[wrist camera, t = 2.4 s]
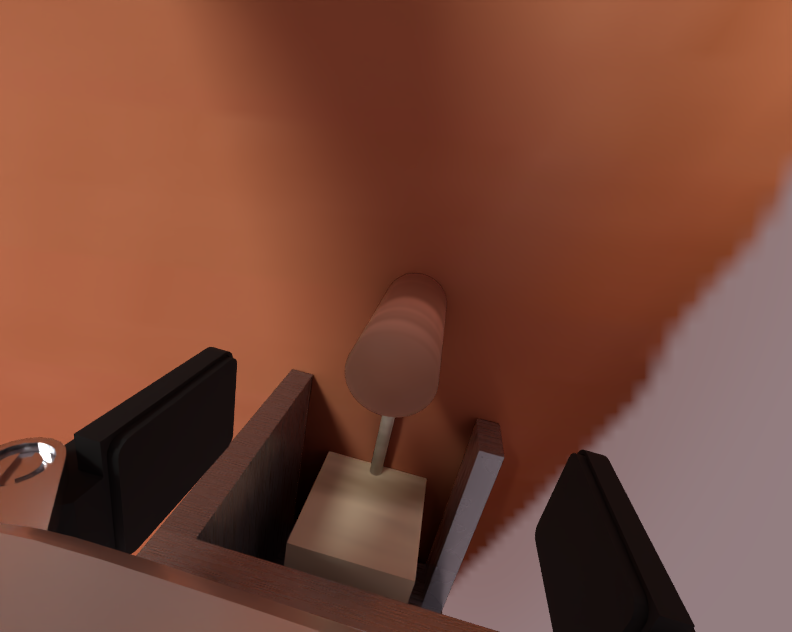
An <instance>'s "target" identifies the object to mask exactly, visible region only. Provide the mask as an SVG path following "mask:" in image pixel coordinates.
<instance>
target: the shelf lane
mask: <svg viewBox="0 0 792 632" xmlns="http://www.w3.org/2000/svg"><path fill="white" fill-rule="evenodd" d="M312 377H313V375H312V374H309V373H305V372H301V371H297V370H293V369H292V370H291V371H290V372H289V373H288V375H287V376H286V377H285V378H284V379H283V381H282V382H281V383H280V384H279V385H278V387H277V388H276V389H275V390H274V391H273V393H272V394H271V395H270V396H269V397H268V399H267V400H266V401H265V402H264V403H263V405H262V406H261V407H260V408H259V409H258V411H257V412H256V413H255V414H254V415H253V417H252V418H251V419H250V420H249V421H248V423H247V424H246V425H245V426H244V427H243V429H242V430H241V431H240V432H239V433H238V435H237V436H236V437H235V438H234V439H233V440H232V442H231V443H230V445H229V447H228V448H227V449H226V450H225V451H224V453H223V454H222V455H221V456H220V457H219V458H218V459H217V460H216V462H215V463H214V464H213V465H212V466H211V467H210V468H209V469H208V470H207V472H206V473H205V474H204V475H203V476H202V478H201V479H200V480H199V481H198V482H197V484H196V485H195V486H194V487H193V488H192V490H191V491H190V492H189V493H188V494H187V496H186V497H185V498H184V499H183V500H182V502H181V503H180V504H179V505H178V506H177V507H176V509H175V510H174V511H173V512H172V513H171V515H170V516H169V517H168V518H167V519H166V521H165V522H164V523H163V524H162V525H161V527H160V528H159V529H158V530H157V531H156V533H155V534H154V535H153V536H152V537H151V539H150V540H149V541H148V542H147V543H146V545H145V546H144V547H143V548H142V549H141V551H140V552H139V553H138V554H137V555H136V556H138V557H141V558H144V559H147V560H150V561H153V562H157V563H160V564H163V565H166V566H169V567H172V568H175V569H178V570H181V571H184V572H187V573H190V574H193V575H196V576H199V577H202V578H205V579H208V580H211V581H214V582H217V583H220V584H223V585H227V586H230V587H233V588H236V589H239V590H242V591H245V592H248V593H251V594H254V595H257V596H260V597H263V598H266V599H269V600H272V601H275V602H278V603H281V604H284V605H287V606H290V607H293V608H296V609H299V610H302V611H305V612H308V613H311V614H314V615H317V616H320V617H323V618H326V619H329V620H332V621H335V622H338V623H341V624H344V625H347V626H350V627H352V628H355V629H358V630H361V631H364V632H498V631H495V630H492V629H488V628H485V627H482V626H479V625H475V624H472V623H469V622H466V621H462V620H459V619H456V618H453V617H449V616H446V615H443V614H442V609H443V607H444V604H445V602H446V599H447V597H448V595H449V592H450V590H451V587H452V585H453V582H454V580H455V577H456V575H457V572H458V570H459V568H460V565H461V563H462V560H463V558H464V555H465V553H466V550H467V548H468V545H469V543H470V541H471V538H472V536H473V533H474V531H475V528H476V526H477V523H478V521H479V518H480V516H481V514H482V511H483V509H484V506H485V504H486V501H487V499H488V496H489V494H490V492H491V489H492V487H493V484H494V482H495V479H496V477H497V474H498V472H499V469H500V467H501V465H502V462H503V460H504V452H503V445H502V438H501V431H500V425H499V424H497V423H493V422H489V421H485V420H482V419H478V418H477V420H476V423H475V426H474V429H473V432H472V434H471V437H470V440H469V443H468V446H467V449H466V452H465V454H464V457H463V460H462V463H461V466H460V469H459V471H458V474H457V477H456V480H455V483H454V486H453V488H452V491H451V494H450V497H449V500H448V503H447V506H446V508H445V511H444V514H443V517H442V520H441V523H440V525H439V528H438V531H437V534H436V537H435V540H434V542H433V545H432V548H431V551H430V554H429V557H428V560H427V562H426V563H422V562H419V561H417V569H416V578H415V583H414V586H413V589H412V592H411V595H410V598H409V601H408V604H407V603H403V602H400V601H397V600H394V599H390V598H387V597H384V596H381V595H377V594H374V593H371V592H367V591H364V590H361V589H358V588H354V587H351V586H348V585H345V584H341V583H338V582H335V581H331V580H328V579H325V578H322V577H318V576H315V575H312V574H308V573H305V572H302V571H299V570H295V569H292V568H289V567H286V566H284V560H285V552H286V544H287V541H288V539H289V537H290V535H291V532H292V530H293V528H294V526H295V525H294V524H293V521H294V514H295V506H296V498H297V491H298V483H299V476H300V468H301V460H302V453H303V445H304V438H305V430H306V423H307V415H308V407H309V400H310V392H311V385H312Z"/></svg>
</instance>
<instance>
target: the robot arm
mask: <svg viewBox="0 0 792 632" xmlns="http://www.w3.org/2000/svg"><path fill="white" fill-rule="evenodd" d="M236 373H237V361H236V359H234V358H233V356H232V353H230V352H228V351H225V350H221V349H217V348H214V347H209V348H206V349H205V350H203V351H202V352H200V353H199V354H197V355H196V356H194V357H192V358H191V359H189V360H188V361H186V362H185V363H183V364H182V365H180V366H179V367H177V368H175V369H174V370H172V371H171V372H169V373H168V374H166V375H165V376H163V377H161V378H160V379H158V380H157V381H155V382H154V383H152V384H151V385H149V386H148V387H146V388H144V389H143V390H141V391H140V392H138V393H137V394H135V395H134V396H132V397H130V398H129V399H127V400H126V401H124V402H123V403H121V404H120V405H118V406H117V407H115V408H113V409H112V410H110V411H109V412H107V413H106V414H104V415H103V416H101V417H99V418H98V419H96V420H95V421H93V422H92V423H90V424H89V425H87V426H86V427H84V428H82V429H81V430H79V431H78V432H76V433H75V434H74V439H73V440H72V441H70V442H69V443H67V444H66V445H63V444H62V443H61V442H60V441H57V440H55V439H52V438H43V437H37V438H25V439H21V440H16V441H11V442H8V443H6V444H3V445H0V632H364V631H361V630H358V629H355V628H352V627H350V626H347V625H344V624H341V623H338V622H335V621H332V620H329V619H326V618H323V617H320V616H317V615H314V614H311V613H308V612H305V611H302V610H299V609H296V608H293V607H290V606H287V605H284V604H281V603H278V602H275V601H272V600H269V599H266V598H263V597H260V596H257V595H254V594H251V593H248V592H245V591H242V590H239V589H236V588H233V587H230V586H227V585H223V584H220V583H217V582H214V581H211V580H208V579H205V578H202V577H199V576H196V575H193V574H190V573H187V572H184V571H181V570H178V569H175V568H172V567H169V566H166V565H163V564H160V563H157V562H153V561H150V560H147V559H144V558H141V557H138V556H134V555H131V554H132V553H133V552H135V551H136V550H137V549H138V548H139V547H140V546H141V545H142V543H143V542H144V541H145V540H146V539H147V538H148V537H149V536H150V534H151V533H152V532H153V531H154V530H155V529H156V528H157V527H158V525H159V524H160V523H161V522H162V521H163V520H164V519H165V518H166V516H167V515H168V514H169V513H170V512H171V511H172V510H173V509H174V508H175V506H176V505H177V504H178V503H179V502H180V501H181V500H182V499H183V497H184V496H185V495H186V494H187V493H188V492H189V491H190V490H191V488H192V487H193V486H194V485H195V484H196V483H197V482H198V481H199V479H200V478H201V477H202V476H203V475H204V474H205V473H206V472H207V470H208V469H209V468H210V467H211V466H212V465H213V464H214V463H215V462H216V460H217V459H218V458H219V457H220V456H221V455H222V454H223V453H224V451H225V450H226V449H227V448H228V447H229V445H230V443H231V441H232V437H233V425H234V408H235V391H236ZM535 541H536V547H537V552H538V557H539V562H540V567H541V572H542V577H543V582H544V587H545V593H546V598H547V603H548V608H549V613H550V618H551V623H552V628H553V632H695V630H694V624H693V622H692V620H691V618H690V616H689V614H688V612H687V610H686V608H685V606H684V605H683V603H682V601H681V599H680V597H679V595H678V593H677V591H676V589H675V587H674V585H673V583H672V581H671V579H670V577H669V575H668V574H667V572H666V570H665V568H664V566H663V564H662V562H661V560H660V558H659V556H658V554H657V552H656V551H655V548H654V546H653V544H652V543H651V541H650V539H649V537H648V535H647V533H646V531H645V529H644V527H643V525H642V523H641V521H640V520H639V517H638V515H637V514H636V512H635V510H634V508H633V506H632V504H631V502H630V500H629V498H628V496H627V494H626V493H625V490H624V489H623V486H622V485H621V483H620V481H619V479H618V477H617V475H616V473H615V471H614V469H613V467H612V465H611V463H610V461H609V460H608V458H607V457H606V456H604V455H601V454H597V453H593V452H590V451H586V450H580V451H579V452H578V454H576V453H572V454H571V455H570V457H569V459H568V461H567V463H566V465H565V467H564V469H563V472H562V474H561V476H560V478H559V480H558V482H557V484H556V486H555V489H554V491H553V493H552V495H551V497H550V499H549V501H548V503H547V506H546V508H545V510H544V512H543V514H542V516H541V518H540V520H539V523H538V525H537V527H536V532H535Z"/></svg>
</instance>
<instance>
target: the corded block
mask: <svg viewBox="0 0 792 632" xmlns="http://www.w3.org/2000/svg"><path fill="white" fill-rule="evenodd" d="M446 308H447V299H446V295H445V292H444V290H443V288H442V287H441V286H440V284H439V283H438V282H437V281H435V280H434V279H433V278H431V277H429V276H427V275H424V274H419V273H412V274H406V275H403V276H401V277H399V278H398V279H396V280H395V281H394V282H393V283H392V284H391V285H390V287H389V289H388V290H387V292H386V294H385V295H384V297H383V299H382V300H381V302H380V304H379V305H378V307H377V309H376V310H375V312H374V314H373V315H372V317H371V319H370V320H369V322H368V324H367V325H366V327H365V329H364V331H363V332H362V334H361V336H360V337H359V339H358V341H357V342H356V344H355V346H354V347H353V349H352V351H351V352H350V354H349V356H348V358H347V361H346V365H345V378H346V383H347V385H348V388H349V390H350V392H351V393H352V395H353V396H354V398H355V399H356V400H357V401H358V402H359V403H360V404H361V405H363V406H364V407H365V408H367V409H368V410H370V411H372V412H374V413H376V414H379V415H382V418H381V423H380V427H379V432H378V436H377V440H376V445H375V449H374V453H373V458H372V462H371V463H370V462H366V461H362V460H359V459H355V458H352V457H348V456H345V455H341V454H337V453H334V452H330V451H329V453H328V455H327V457H326V459H325V461H324V463H323V466H322V468H321V470H320V472H319V474H318V476H317V479H316V481H315V483H314V485H313V487H312V489H311V491H310V494H309V496H308V498H307V500H306V502H305V504H304V507H303V509H302V511H301V513H300V515H299V517H298V519H297V522H296V524H295V526H294V528H293V530H292V532H291V535H290V537H289V539H288V541H287V544H286V552H285V560H284V566H286V567H289V568H292V569H295V570H299V571H302V572H305V573H308V574H312V575H315V576H318V577H322V578H325V579H328V580H331V581H335V582H338V583H341V584H345V585H348V586H351V587H354V588H358V589H361V590H364V591H367V592H371V593H374V594H377V595H381V596H384V597H387V598H390V599H394V600H397V601H400V602H403V603H407V604H408V601H409V598H410V595H411V592H412V589H413V586H414V583H415V578H416V569H417V560H418V551H419V542H420V533H421V524H422V515H423V507H424V498H425V489H426V480H427V478H423V477H420V476H416V475H412V474H409V473H405V472H402V471H398V470H395V469H391V468H387V467H384V466H383V464H384V460H385V456H386V452H387V448H388V444H389V440H390V436H391V432H392V428H393V424H394V420H395V417H406V416H410V415H413V414H416V413H418V412H420V411H421V410H423V409H424V408H426V407H427V406H428V405H429V404H430V402H431V401H432V400H433V398H434V397H435V395H436V392H437V389H438V384H439V375H440V365H441V356H442V346H443V337H444V327H445V318H446Z"/></svg>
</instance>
